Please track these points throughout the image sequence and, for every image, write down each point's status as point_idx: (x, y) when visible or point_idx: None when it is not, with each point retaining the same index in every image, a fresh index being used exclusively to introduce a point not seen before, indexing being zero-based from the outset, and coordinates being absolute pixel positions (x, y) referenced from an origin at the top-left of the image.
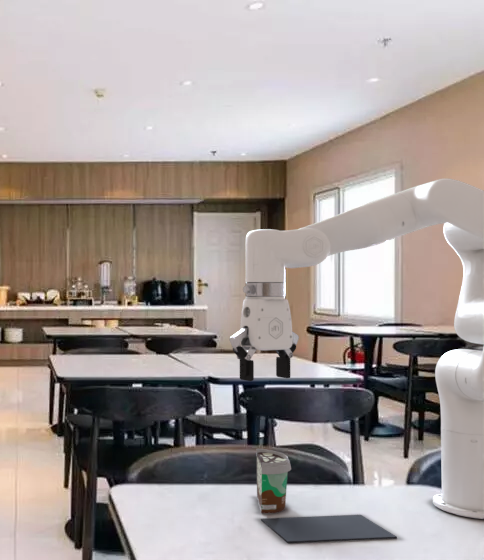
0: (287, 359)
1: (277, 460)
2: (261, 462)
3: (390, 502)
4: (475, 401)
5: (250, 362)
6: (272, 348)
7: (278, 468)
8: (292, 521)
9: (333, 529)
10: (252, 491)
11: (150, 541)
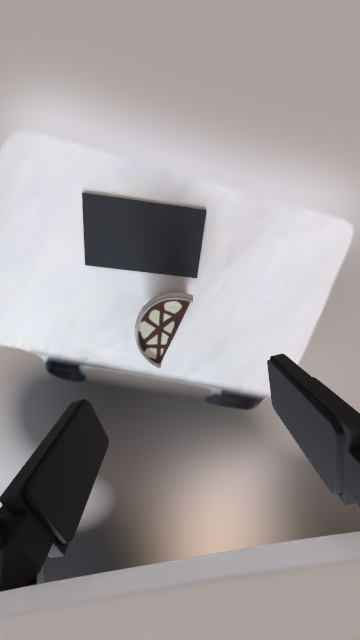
0: (26, 490)
1: (152, 325)
2: (180, 320)
3: (28, 296)
4: None
5: (353, 417)
6: (211, 581)
7: (169, 294)
8: (169, 262)
9: (139, 230)
10: None
11: (329, 249)
